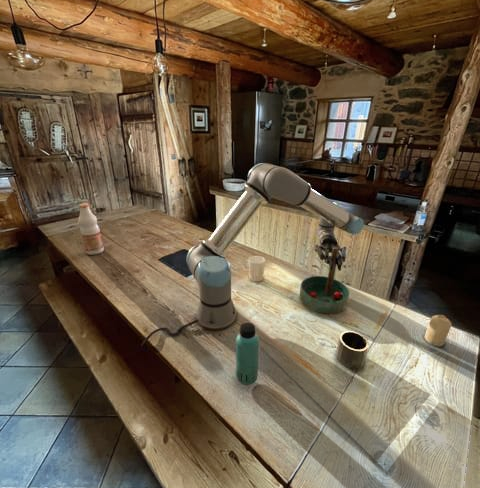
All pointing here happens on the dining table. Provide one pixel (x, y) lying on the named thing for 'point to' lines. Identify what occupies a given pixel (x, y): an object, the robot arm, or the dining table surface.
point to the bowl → (323, 295)
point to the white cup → (256, 268)
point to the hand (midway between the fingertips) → (335, 267)
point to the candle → (438, 330)
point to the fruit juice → (90, 230)
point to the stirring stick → (332, 271)
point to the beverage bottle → (247, 354)
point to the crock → (352, 349)
